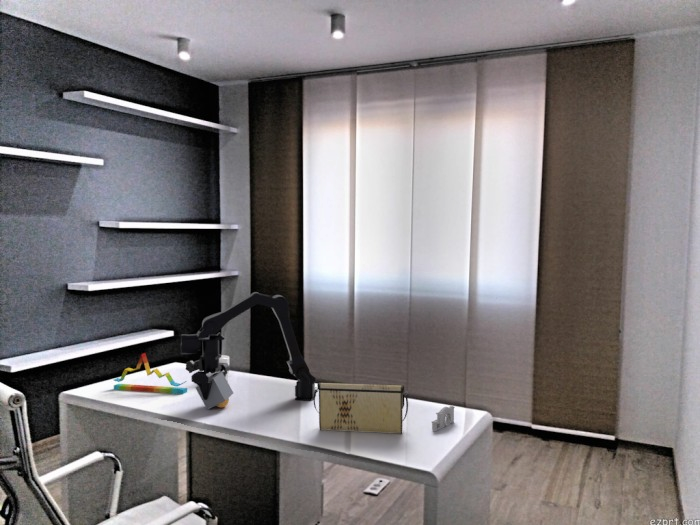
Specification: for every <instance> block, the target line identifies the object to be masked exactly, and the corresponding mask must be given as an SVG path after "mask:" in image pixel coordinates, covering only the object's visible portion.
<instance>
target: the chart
mask: <svg viewBox="0 0 700 525" xmlns="http://www.w3.org/2000/svg"><path fill="white" fill-rule="evenodd" d="M137 362H138V363H137V365H136V368H131V367H127V368H125V369H124V370H123V371H122V374H121V376H120V377H118V378H115V379H113V381H115V382H118V383H116V384H114V385H113V390H115V391H116V390H117V391H130V392H144V393H146V392H148V393H160V394H175V395H176V394H177V395H184V394H186V393H188V387H179V386H181V385H184V384H185V383H187V381H183V382H181V383H178V382H175V380H174V378H173V377H172V375H171V374H170V372H166V373H164V374H163V373H161V371H160V370H159V369H158V367H157V368H154V369H153V370H151V368H150V364H149V361H148V357H147V354H146V352H143V353H141V355H140V357H139V359H138V361H137ZM142 364H143V366H144V368H145V371H146V375H147V377H148V376H150V375H151V376H152V374H153V373H154V374H155V375H156V377H157V378H159V379H161V378H162V377H166V378H167V380H168V382H169V384H170V385H171V386H164V385H163V386H161V385H160V386H159V385H144V384H127V383H120V382H123V381H124V380H125V378H126V375H127V374H128V372H134V371H137V370H140V369H141V366H142Z"/></svg>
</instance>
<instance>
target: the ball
mask: <svg viewBox="0 0 700 525" xmlns="http://www.w3.org/2000/svg"><path fill="white" fill-rule="evenodd" d="M229 398H230V397H229ZM229 398H228V399H227V400H226V401H224V402H222V403H220V404H218V405H216V406H215V407H218V408H220V409H221V408H222V409H223V408H224V407H226V406H227V405H228V404H229V403H230V402H229V401H230V399H229Z"/></svg>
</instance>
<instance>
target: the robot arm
mask: <svg viewBox="0 0 700 525" xmlns="http://www.w3.org/2000/svg"><path fill="white" fill-rule="evenodd" d="M256 305H261V306H264V307H267V308H270V309H272V311H273V312H272V313H274V315H275V317H276V318H277V320H278V322H279V323H278V324H279V326H280V329H281V332H282V335H283V339H284V342H285V345H286V348H287V351H288V356H289V360H287V361H286V363H287V365H288V368H289V369H288V371H289V373H290V374H291V375H292V376H294V377H295V378H296V380H297V381H296V385H295V386H294V396H295V398H294V400H297V401H299V400H300V401H313V397H314V393H315V389H316V388H315V387H316V386H315V385H316V377H315V376H314V375H313V374H312V373H311V372H310V368H309V366H308V364H307V362H306V361H305V359H304V357H303V355H302V354H301V351H300V348H299V346H298V345H299V344H298V342H297V339H296V335H295V332H294V328H293V326H292V323H291V318H290V306H289V302H288V299H287V298H286V297H284V296H283V295H281V294H275V295H269V294H264V293H259V292H257V291H254V292H252V293H251V294H250V295H248V296H246V297H244V298H243V299H241V300H239V301H238V302H237V303H235V304H232V305H231V306H230V307H228V308H226V309H225V310H223V311H220V312H217V313H213V314H211V315H208V316H206V317H204V318H203V320H202V322H201V327H200V329H199V330H197V332H196V333H194V334H186V333H185V334H183V333H182V334H181V337H180V341H181V342H180V355H192V354H198V352H200V351H201V345H202V355H200V356H199V359H198V360H195V361H193V360H189V361H187V362H186V363H185V370H186V371H188V373H189V374H191V373H193V372H194V373H193V374H192V375H191V382H192V383H193V384H196V385H197V386H199V387H200V390H201V393H202V395H203V398H204V400H207V399H208V396H209V392H210V389H211V386H212V382H213V381H212V378H213V376H214V375H216V374H218V373H220V372H222V373H223V374H224V376H225V377H226V375H227V373H228V372H227V371H229V372H230V364H229V365H228V364H227V363H219V358H221V355H222V354H220V341H221V340H222V341H224V340H225V336H224V335H223V334H221V332H219V331H220V330H221V329H223V328H224V327H225V326H226V325H227V324H228V323H229V322H230V321H231V320H234V319H235V318H236V317H238V316H239V315H241V314H243V313H245V312H246V311H248V310H249V309H251V308H253V307H255V306H256ZM201 342H202V343H201ZM224 371H225V372H224ZM316 396H317V394H316V395H315V397H316Z"/></svg>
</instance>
